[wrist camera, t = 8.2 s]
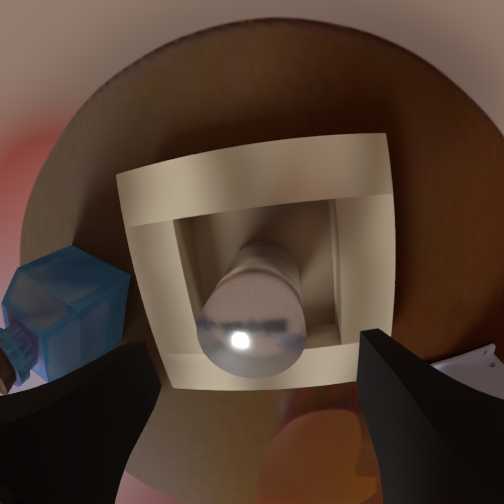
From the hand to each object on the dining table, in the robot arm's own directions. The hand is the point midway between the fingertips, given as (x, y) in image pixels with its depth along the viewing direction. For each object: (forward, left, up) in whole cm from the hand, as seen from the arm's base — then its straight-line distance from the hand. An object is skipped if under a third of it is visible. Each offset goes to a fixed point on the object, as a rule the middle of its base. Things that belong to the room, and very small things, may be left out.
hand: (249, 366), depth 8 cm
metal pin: (0, 0, -8) cm, 8 cm away
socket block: (0, 0, -9) cm, 9 cm away
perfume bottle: (+14, +1, -10) cm, 17 cm away
